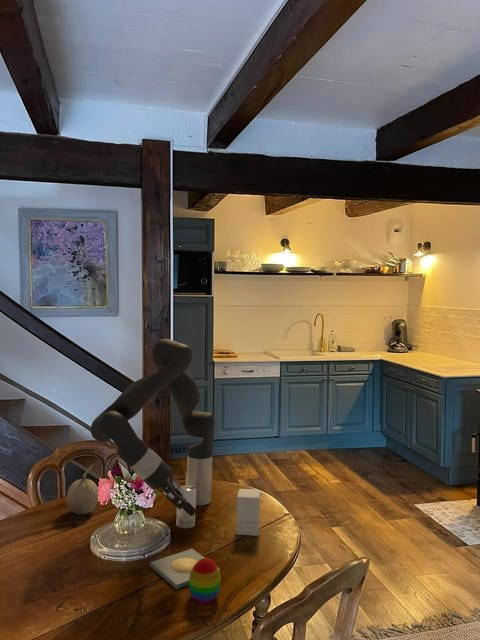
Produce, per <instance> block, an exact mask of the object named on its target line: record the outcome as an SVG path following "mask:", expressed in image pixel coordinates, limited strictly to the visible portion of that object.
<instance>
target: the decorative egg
mask: <svg viewBox="0 0 480 640" xmlns="http://www.w3.org/2000/svg"><path fill="white" fill-rule="evenodd" d="M217 567H218V566H217V565H216V563H215V562H214V561H213V560H212V559H210V558H207V557H204V558H203V559H200V560H199V561H198V562H197V563H196V564H195V565H194V567H193V568H192V570H191V573H190V577H189V585H188V588H189V589H188V590H189V593H190V595H191V597H192V598H193V599H194V601H196V602H197V603H200V604H208V603H211V602H213V601H215V599H216V598H217V597H218V595H219V592H220V590H221V586H222V579H221V577H222V576H221V572H220V573H219V570H218V568H219V567H218V568H217Z"/></svg>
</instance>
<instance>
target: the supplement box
mask: <svg viewBox="0 0 480 640" xmlns="http://www.w3.org/2000/svg"><path fill="white" fill-rule="evenodd" d="M260 512H261V490H260V489H250V488H239V489H238V492H237V496H236V521H235V522H236V524H235V525H236V535H240V536H241V535H242V536H254V537H255V536H256V537H259V533H260V525H261V524H260V521H261V520H260V515H261V514H260Z"/></svg>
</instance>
